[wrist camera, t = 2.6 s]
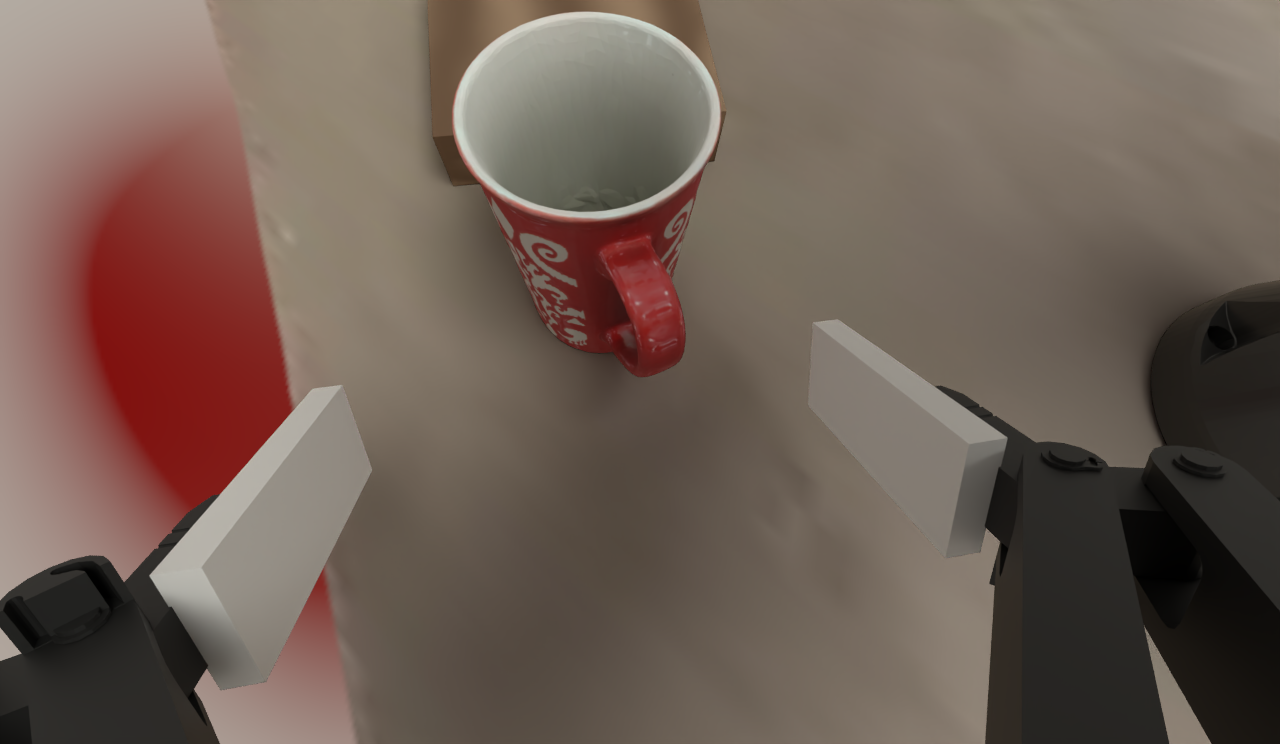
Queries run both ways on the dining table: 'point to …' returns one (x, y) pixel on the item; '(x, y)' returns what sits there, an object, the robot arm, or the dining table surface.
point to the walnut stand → (496, 3)
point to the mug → (593, 172)
